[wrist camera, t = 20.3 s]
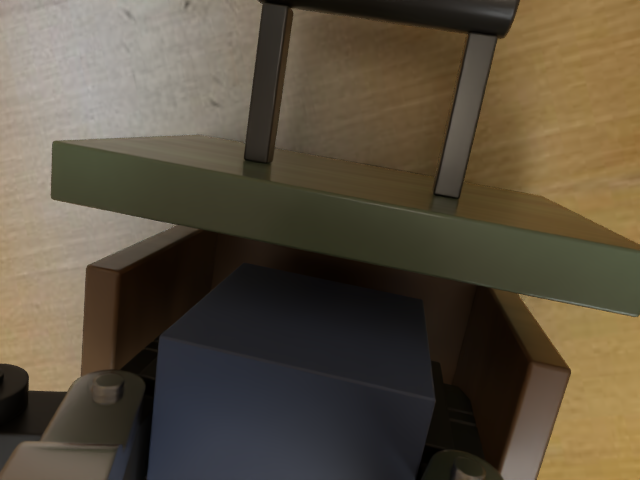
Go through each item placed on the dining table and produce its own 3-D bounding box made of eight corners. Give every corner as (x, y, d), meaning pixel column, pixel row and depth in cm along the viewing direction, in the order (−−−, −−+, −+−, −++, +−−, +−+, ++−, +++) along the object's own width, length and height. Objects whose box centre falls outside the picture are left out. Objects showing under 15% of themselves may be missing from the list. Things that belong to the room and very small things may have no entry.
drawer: (212, -24, 16) (58, -148, 8) (589, 29, 14) (774, -64, 7) (163, 469, 20) (36, 655, 13) (446, 543, 19) (473, 794, 12)
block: (222, 418, 14) (138, 557, 9) (243, 261, 13) (157, 335, 8) (387, 458, 13) (380, 626, 9) (423, 299, 12) (437, 399, 8)
